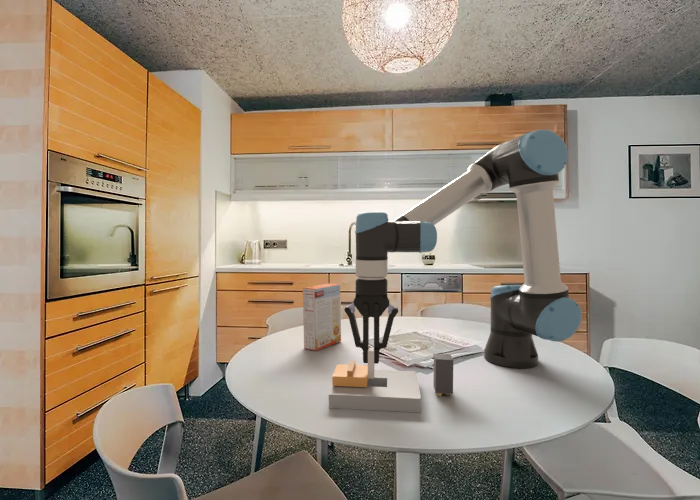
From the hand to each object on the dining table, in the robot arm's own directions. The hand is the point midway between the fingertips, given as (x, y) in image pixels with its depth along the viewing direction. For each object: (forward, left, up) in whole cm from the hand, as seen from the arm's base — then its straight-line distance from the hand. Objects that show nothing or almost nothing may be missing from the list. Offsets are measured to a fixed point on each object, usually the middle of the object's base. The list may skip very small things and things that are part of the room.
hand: (371, 376), depth 87 cm
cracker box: (+19, -38, -5) cm, 43 cm away
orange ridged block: (+5, 0, -1) cm, 5 cm away
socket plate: (-1, 0, -4) cm, 5 cm away
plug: (-17, -2, -4) cm, 18 cm away
